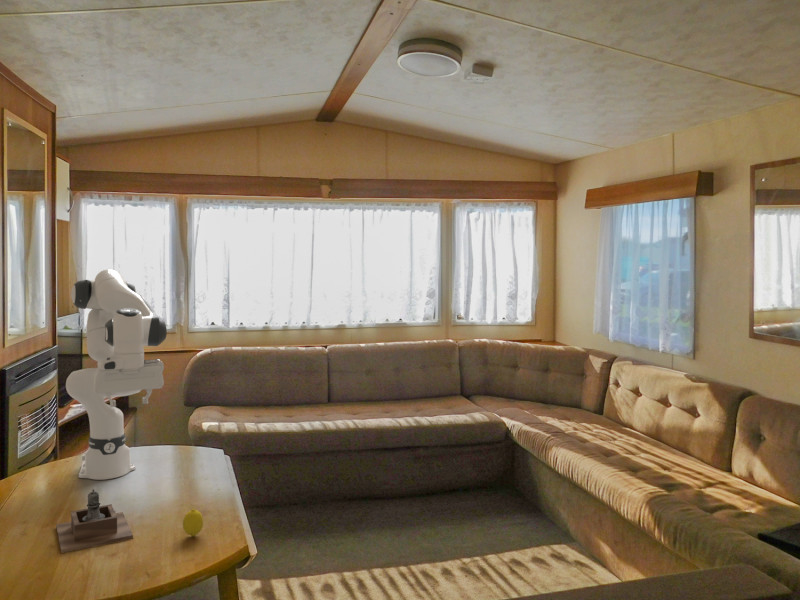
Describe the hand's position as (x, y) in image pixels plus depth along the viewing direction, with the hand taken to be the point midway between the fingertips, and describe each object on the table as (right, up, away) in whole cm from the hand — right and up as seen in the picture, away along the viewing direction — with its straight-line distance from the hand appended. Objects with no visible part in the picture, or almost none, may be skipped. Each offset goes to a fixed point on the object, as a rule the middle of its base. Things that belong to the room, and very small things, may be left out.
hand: (129, 404), depth 197 cm
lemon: (+25, -35, -16) cm, 46 cm away
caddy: (-3, -34, -16) cm, 38 cm away
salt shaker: (-3, -34, -16) cm, 37 cm away
